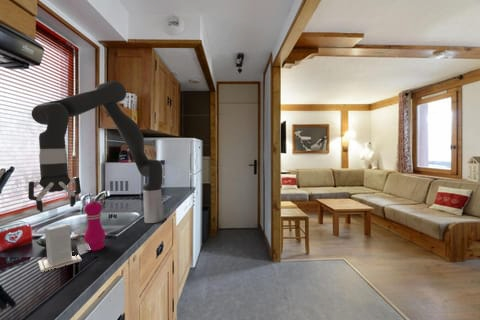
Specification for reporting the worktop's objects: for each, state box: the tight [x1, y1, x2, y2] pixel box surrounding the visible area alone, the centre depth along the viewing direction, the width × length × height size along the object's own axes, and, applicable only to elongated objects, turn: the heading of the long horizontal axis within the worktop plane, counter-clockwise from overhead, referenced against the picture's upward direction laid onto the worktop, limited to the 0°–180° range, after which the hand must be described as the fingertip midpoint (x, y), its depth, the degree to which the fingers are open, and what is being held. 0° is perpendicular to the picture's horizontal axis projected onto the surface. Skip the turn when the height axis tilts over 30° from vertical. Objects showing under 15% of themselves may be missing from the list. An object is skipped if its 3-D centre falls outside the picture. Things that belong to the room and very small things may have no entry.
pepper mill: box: [83, 197, 106, 252], centre depth 95 cm, size 7×7×20 cm
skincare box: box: [44, 223, 73, 265], centre depth 83 cm, size 6×4×12 cm
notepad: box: [37, 254, 83, 273], centre depth 84 cm, size 11×10×1 cm
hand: (57, 208), depth 83 cm, fingers open, 8 cm apart
